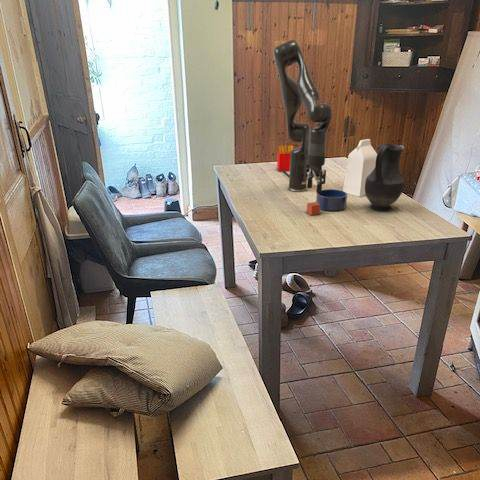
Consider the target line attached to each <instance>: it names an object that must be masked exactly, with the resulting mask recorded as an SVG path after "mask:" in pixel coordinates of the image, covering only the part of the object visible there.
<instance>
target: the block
mask: <svg viewBox="0 0 480 480" xmlns="http://www.w3.org/2000/svg"><path fill="white" fill-rule="evenodd" d="M320 206H321V205H320V204H318V203H316V201H313V202H307V203H306V213H307V214H308V215H310V216H317V215H321V209H320Z"/></svg>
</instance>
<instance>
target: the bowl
mask: <svg viewBox="0 0 480 480" xmlns="http://www.w3.org/2000/svg"><path fill="white" fill-rule="evenodd" d="M315 196H316V197H315V202H316V203H318V204H320V205H321V206H320V210H321V211H326V212H337V211H342V210H345V209H346V208H347V202H348V193H346V192H344V191H343V190H341V189H335V188H334V189H332V188H329V189H322V191H321V193H316V195H315Z"/></svg>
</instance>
